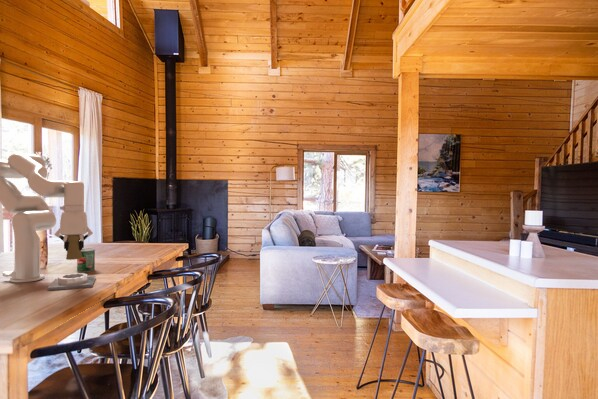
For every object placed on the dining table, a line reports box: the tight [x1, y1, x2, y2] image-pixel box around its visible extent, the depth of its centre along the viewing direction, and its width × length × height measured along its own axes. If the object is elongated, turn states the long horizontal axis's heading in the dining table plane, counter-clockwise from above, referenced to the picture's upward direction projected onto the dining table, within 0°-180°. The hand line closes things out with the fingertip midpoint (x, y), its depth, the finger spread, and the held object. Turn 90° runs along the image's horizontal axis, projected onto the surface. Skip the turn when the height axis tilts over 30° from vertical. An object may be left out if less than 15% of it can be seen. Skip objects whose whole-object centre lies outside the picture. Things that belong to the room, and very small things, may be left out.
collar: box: [46, 272, 96, 291], centre depth 158 cm, size 16×16×4 cm
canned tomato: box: [76, 248, 96, 273], centre depth 184 cm, size 8×8×11 cm
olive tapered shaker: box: [65, 235, 82, 261], centre depth 157 cm, size 6×6×11 cm
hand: (74, 249), depth 157 cm, fingers closed on olive tapered shaker, 4 cm apart
